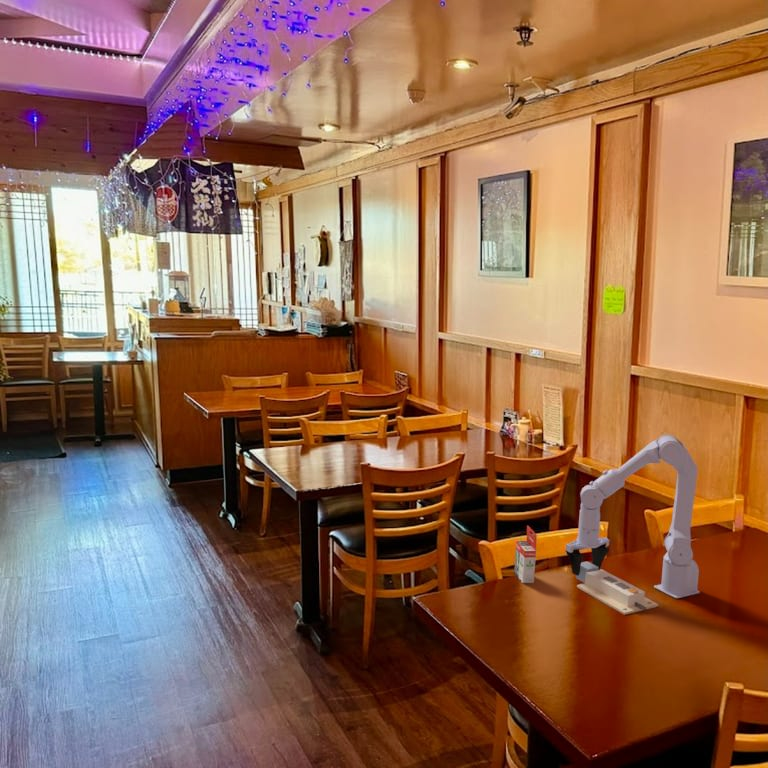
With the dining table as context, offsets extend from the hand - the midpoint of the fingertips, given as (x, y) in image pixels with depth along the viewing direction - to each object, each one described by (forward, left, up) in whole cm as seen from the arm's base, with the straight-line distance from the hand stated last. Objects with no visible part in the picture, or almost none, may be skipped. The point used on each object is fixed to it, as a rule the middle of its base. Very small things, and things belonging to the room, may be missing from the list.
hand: (585, 572), depth 195 cm
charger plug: (0, +2, -2) cm, 3 cm away
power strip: (0, +13, -2) cm, 13 cm away
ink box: (+16, -8, -3) cm, 18 cm away
